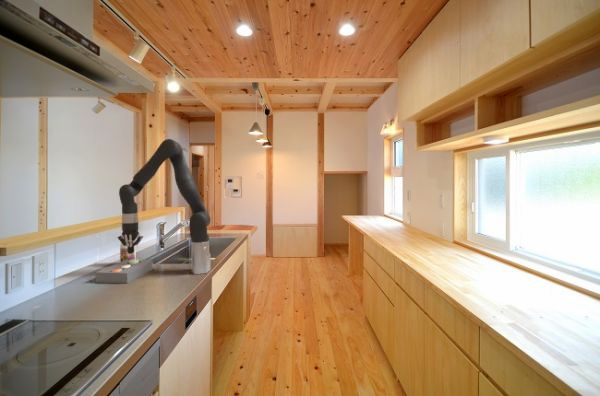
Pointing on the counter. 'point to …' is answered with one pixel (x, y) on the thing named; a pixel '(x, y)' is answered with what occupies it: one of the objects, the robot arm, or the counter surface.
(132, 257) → the milk bottle
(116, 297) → the counter surface
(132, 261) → the sage button
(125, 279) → the button console
